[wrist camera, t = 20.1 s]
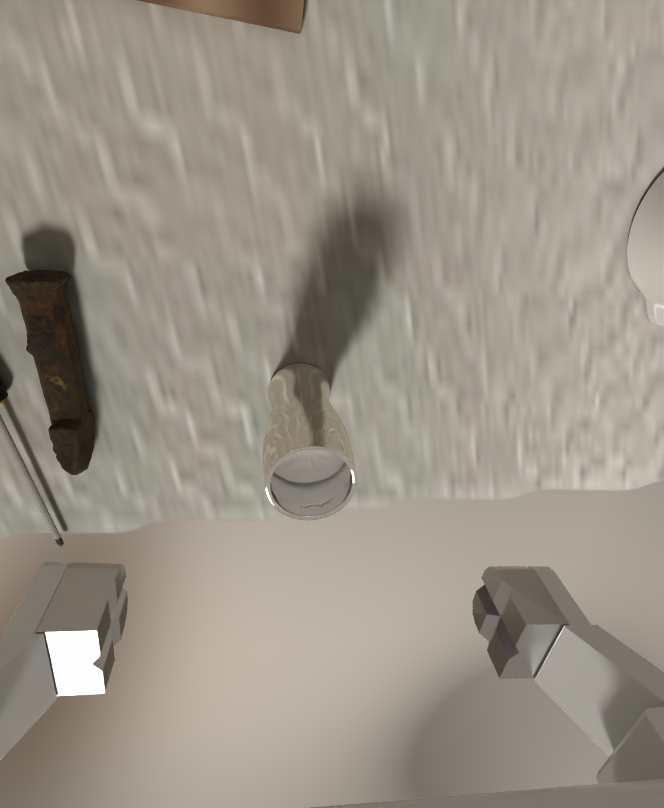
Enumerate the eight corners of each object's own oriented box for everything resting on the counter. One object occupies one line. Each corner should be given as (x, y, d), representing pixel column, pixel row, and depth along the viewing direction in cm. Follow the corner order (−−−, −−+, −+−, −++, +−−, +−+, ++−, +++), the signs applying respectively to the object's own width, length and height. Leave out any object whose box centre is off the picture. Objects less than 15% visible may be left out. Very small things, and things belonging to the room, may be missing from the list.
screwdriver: (-120, 271, 34) (38, 560, 49) (-71, 266, 34) (72, 556, 49) (-89, 260, 37) (52, 536, 52) (-44, 256, 37) (83, 532, 52)
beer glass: (265, 355, 44) (264, 442, 31) (338, 360, 45) (367, 446, 32) (261, 419, 47) (259, 522, 34) (329, 422, 49) (353, 523, 35)
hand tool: (22, 264, 38) (-8, 278, 34) (74, 268, 39) (51, 282, 35) (61, 456, 47) (41, 485, 43) (103, 457, 48) (87, 486, 44)
